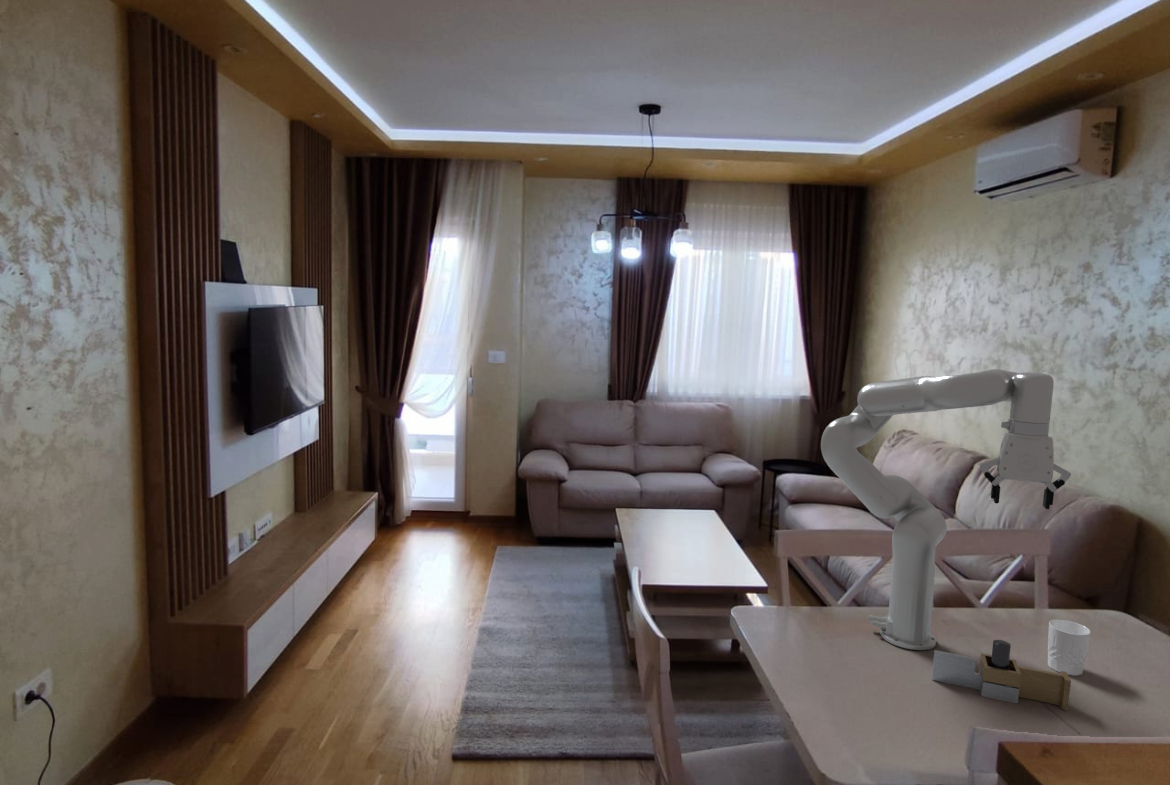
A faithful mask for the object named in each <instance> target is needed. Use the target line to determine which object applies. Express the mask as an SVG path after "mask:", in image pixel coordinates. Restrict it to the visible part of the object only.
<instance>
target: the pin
mask: <svg viewBox="0 0 1170 785" xmlns="http://www.w3.org/2000/svg"><path fill="white" fill-rule="evenodd" d="M1011 648H1012V646H1011V643H1010V642H1008V641H1006V640H1002V639H994V640H993V641H992V650H991V655H992V658H991V667H994V668H1000V669H1005V670H1008V666H1009V659H1010V656H1011V655H1010V654H1011Z"/></svg>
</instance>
